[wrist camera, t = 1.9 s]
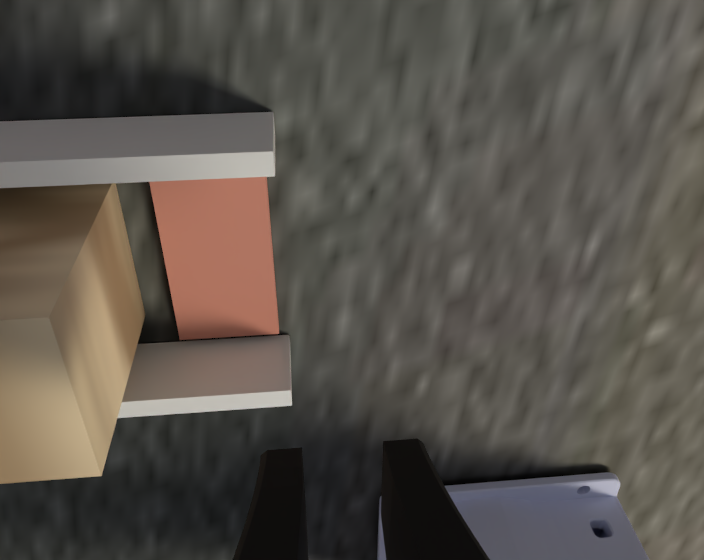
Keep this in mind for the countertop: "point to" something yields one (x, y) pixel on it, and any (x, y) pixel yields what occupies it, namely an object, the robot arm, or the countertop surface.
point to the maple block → (63, 328)
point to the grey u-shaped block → (184, 245)
